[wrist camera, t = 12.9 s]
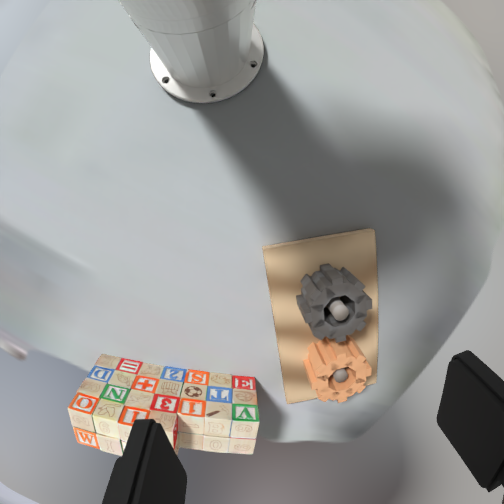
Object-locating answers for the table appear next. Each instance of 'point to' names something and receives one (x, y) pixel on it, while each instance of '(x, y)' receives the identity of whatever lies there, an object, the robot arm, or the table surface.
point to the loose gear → (332, 358)
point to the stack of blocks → (165, 406)
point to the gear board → (290, 314)
